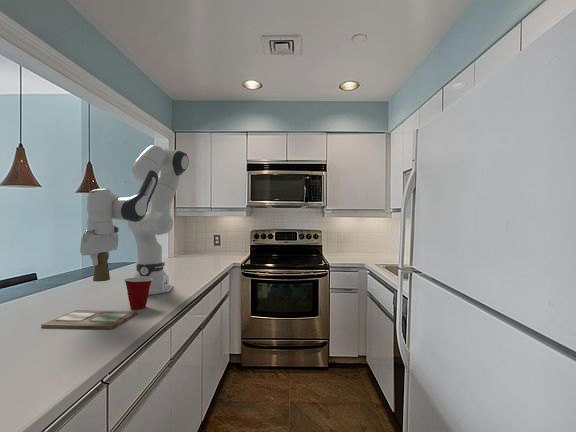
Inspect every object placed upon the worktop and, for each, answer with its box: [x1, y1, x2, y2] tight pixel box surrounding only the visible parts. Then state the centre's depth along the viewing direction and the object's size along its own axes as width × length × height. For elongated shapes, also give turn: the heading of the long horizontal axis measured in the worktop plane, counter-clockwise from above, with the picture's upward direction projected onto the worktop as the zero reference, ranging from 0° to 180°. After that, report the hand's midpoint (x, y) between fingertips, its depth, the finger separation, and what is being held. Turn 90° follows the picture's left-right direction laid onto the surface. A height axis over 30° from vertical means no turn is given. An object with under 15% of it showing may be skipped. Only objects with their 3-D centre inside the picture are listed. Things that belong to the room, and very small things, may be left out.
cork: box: [92, 252, 111, 282], centre depth 139 cm, size 6×6×11 cm
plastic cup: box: [123, 277, 153, 310], centre depth 142 cm, size 11×11×12 cm
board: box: [40, 309, 139, 330], centre depth 124 cm, size 18×24×1 cm
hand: (100, 264), depth 139 cm, fingers closed on cork, 4 cm apart
